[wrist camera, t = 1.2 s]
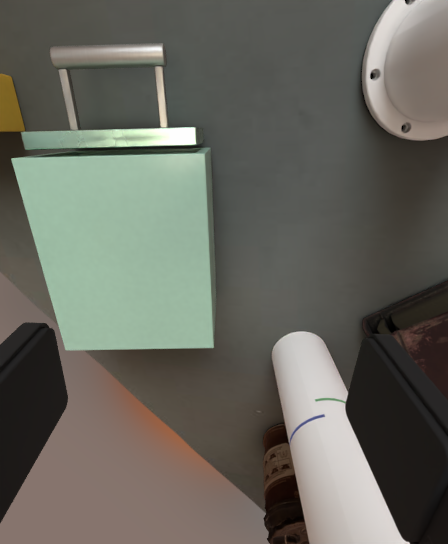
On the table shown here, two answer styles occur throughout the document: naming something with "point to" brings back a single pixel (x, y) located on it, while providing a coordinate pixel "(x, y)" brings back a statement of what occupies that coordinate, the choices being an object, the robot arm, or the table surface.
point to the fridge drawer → (111, 138)
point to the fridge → (125, 245)
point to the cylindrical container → (327, 449)
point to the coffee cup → (282, 491)
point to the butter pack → (9, 107)
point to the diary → (419, 331)
